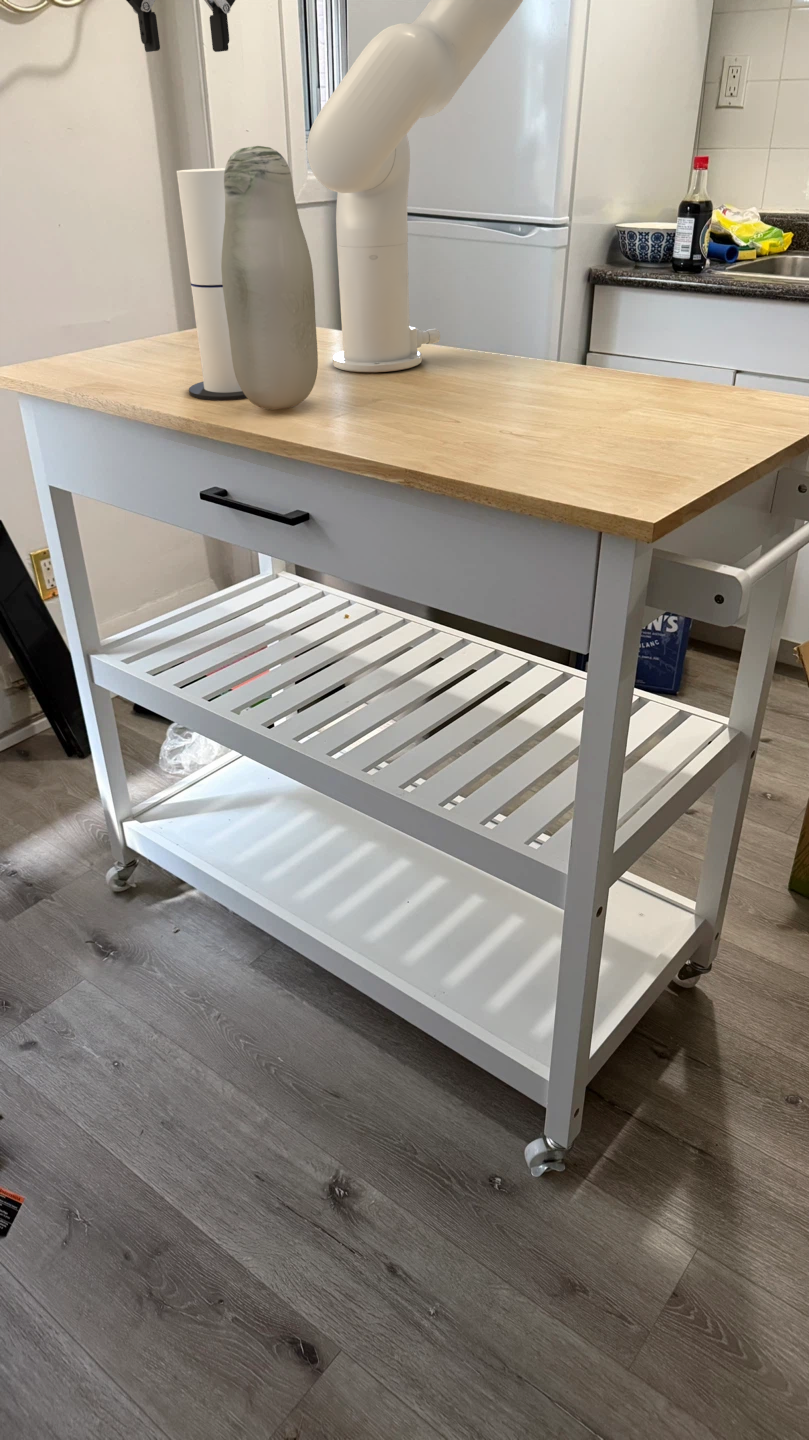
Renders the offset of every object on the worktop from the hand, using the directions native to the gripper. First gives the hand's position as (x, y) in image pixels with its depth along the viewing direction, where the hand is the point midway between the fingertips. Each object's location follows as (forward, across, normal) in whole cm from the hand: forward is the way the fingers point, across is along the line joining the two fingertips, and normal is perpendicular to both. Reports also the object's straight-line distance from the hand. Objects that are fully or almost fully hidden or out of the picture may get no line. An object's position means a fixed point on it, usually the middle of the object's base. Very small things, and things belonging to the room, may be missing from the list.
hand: (187, 51), depth 133 cm
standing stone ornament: (+38, -9, -31) cm, 50 cm away
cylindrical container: (+38, -9, -19) cm, 43 cm away
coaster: (+38, -9, -19) cm, 44 cm away
